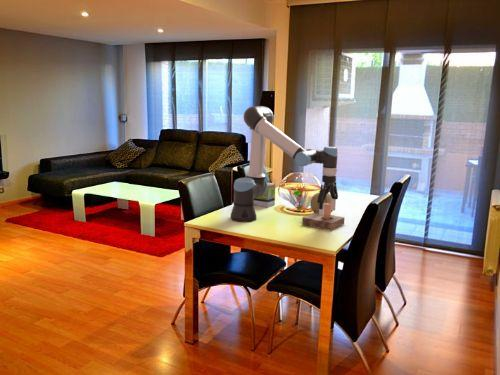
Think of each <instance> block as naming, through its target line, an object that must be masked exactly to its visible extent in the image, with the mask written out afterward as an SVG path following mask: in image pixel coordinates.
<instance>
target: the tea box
mask: <svg viewBox="0 0 500 375" xmlns="http://www.w3.org/2000/svg"><path fill="white" fill-rule="evenodd" d="M275 204H276V183H271V182H267V190H266V192H265V193H264V194H263V195H261V196H259V197H256V198H254V206H257V207H264V208H270V207H273V206H275Z"/></svg>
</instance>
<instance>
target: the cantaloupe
mask: <svg viewBox="0 0 500 375" xmlns="http://www.w3.org/2000/svg"><path fill="white" fill-rule="evenodd" d="M319 193H320V190H319V192H317V193H314V195H313V196H311V199H310V204H309V205H310V209H311V211H312V212H313V213H316V212H318V213H319V203H318V202H317V200H318V197H319ZM331 199H333V198H332V197H331V195H330V192H329V193H328V194H327V196H326V198H325V201H324V203H328V204H331ZM332 212H333V210H331V213H332Z"/></svg>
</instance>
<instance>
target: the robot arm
mask: <svg viewBox="0 0 500 375" xmlns="http://www.w3.org/2000/svg"><path fill="white" fill-rule="evenodd" d="M273 113H274V112H273V111H272V110H271V109H270V108H269V107H267V106H263V105H258V106H253V105H252V106H249V107H248V108H246V110H245V111H244V113H243V121H244V122H243V123H245V125H246V126H247V127H249V131H251V144H250V154H249V168H248V172H247V173H246V174H245V177H240V178H237V179H235V180H234V182H233V207H232V209H231V212H230V221H231V220H232V221H234V222H239V223H249V222H255V221H256V220H257V213H256V209H255V205H254V198H256V197H259V196H261V195H263V194H264V193H265V192H266V190H267V183H268V182H267V180H266V174H265V173H264V168H265V167H264V166H265V156H266V146H267V145H266V144H267V140H269V141H270V142H271V143H272V144H274V145H275V146H276V147H278V149H280V150H282V152H284V153H286V154H287V155H288V156H290V157H291V158H292V159H293V160H294V162H295V164H296V165H297V166H299V167H307V166H308V165H312V164H322V177H321V181H322V182H323V183H324V184H321V185H320V190H319V191H320V192H318V193H319V197H318V200H317V202H318V203H319V215H324V204H325V203H324V201H325V198H326V196H327V194H328V193H329V194H330V195H331V197H332V198H333V199H331V210H333V211H334V212H335V211H336V204H337V203H336V202H337V200H338V198H339V194H338V188H337V176H336V175H337V172H338V170H337V169H338V168H337V167H338V166H337V165H338V147H335V146H324V147H323V149H315V148H314V149H311V148H303V147H302V146H301V145H299V144H298V143H297V142H295V141H294V140H293V139H291V138H290V137H289V136H288V135H287V134H285V133H284V132H282V131H281V130H280V129H278V128H277V127H276V126H274V125H273V124H272V123H273V121H274V114H273ZM333 211H332V212H333Z"/></svg>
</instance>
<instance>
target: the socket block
mask: <svg viewBox="0 0 500 375" xmlns="http://www.w3.org/2000/svg"><path fill="white" fill-rule="evenodd" d="M345 220H346V219H345V217H344V216H340V215H339V216H338V215H334V214H333V215H332V214H331V217H330V220H327V219H323V215H319V213H318V212H316V213H314V212H313V213H310V214H308V215H306V216H303V217H302V221H301V224H302V225H304V226H309V227H313V228H317V229H318V228H319V229H322V230H323V229H324V230H326V231H327V230H328V231H333V230H336V229H337V228H339V227H341V226H344V225H345Z"/></svg>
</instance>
